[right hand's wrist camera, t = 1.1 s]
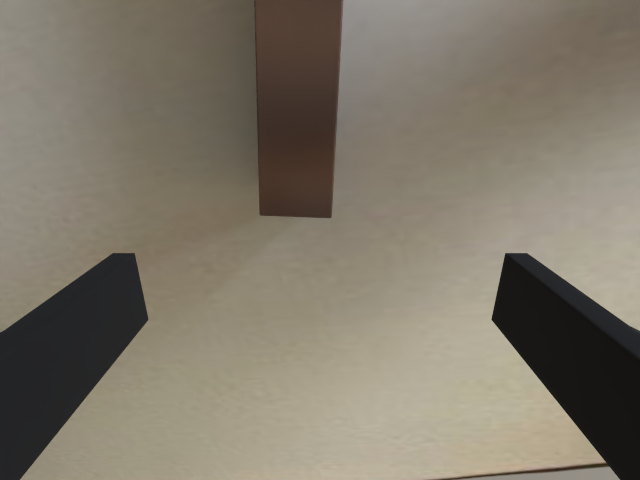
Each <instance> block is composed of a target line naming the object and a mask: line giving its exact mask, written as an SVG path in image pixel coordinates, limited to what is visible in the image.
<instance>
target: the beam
mask: <svg viewBox="0 0 640 480" xmlns="http://www.w3.org/2000/svg"><path fill="white" fill-rule="evenodd" d="M342 12H343V0H255V41H256V82H257V123H258V165H259V206H260V215H261V216H288V217H316V218H331V217H332V200H333V182H334V163H335V144H336V125H337V106H338V88H339V69H340V50H341V31H342Z"/></svg>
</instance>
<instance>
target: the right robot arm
mask: <svg viewBox="0 0 640 480" xmlns="http://www.w3.org/2000/svg"><path fill="white" fill-rule="evenodd" d="M147 321H148V315H147V310H146V306H145V301H144V296H143V291H142V286H141V282H140V277H139V272H138V267H137V263H136V258H135V253H113V254H111V255H110V256H108V257H107V258H106V259H104V260H103V261H101V262H100V263H99V264H97V265H96V266H94V267H93V268H92V269H90V270H89V271H87V272H86V273H85V274H83V275H82V276H80V277H79V278H78V279H76V280H75V281H73V282H72V283H70V284H69V285H68V286H66V287H65V288H63V289H62V290H61V291H59V292H58V293H56V294H55V295H54V296H52V297H51V298H49V299H48V300H47V301H45V302H44V303H42V304H41V305H40V306H38V307H37V308H35V309H34V310H33V311H31V312H30V313H28V314H27V315H25V316H24V317H23V318H21V319H20V320H18V321H17V322H16V323H14V324H13V325H11V326H10V327H9V328H7V329H6V330H4V331H2V332H0V480H20V479H21V478H22V476H23V475H24V474H25V473H26V471H27V470H28V469H29V468H30V466H31V465H32V464H33V463H34V461H35V460H36V459H37V458H38V456H39V455H40V454H41V453H42V451H43V450H44V449H45V448H46V446H47V445H48V444H49V443H50V441H51V440H52V439H53V438H54V436H55V435H56V434H57V433H58V431H59V430H60V429H61V428H62V426H63V425H64V424H65V423H66V422H67V420H68V419H69V418H70V417H71V415H72V414H73V413H74V412H75V410H76V409H77V408H78V407H79V405H80V404H81V403H82V402H83V400H84V399H85V398H86V397H87V395H88V394H89V393H90V392H91V390H92V389H93V388H94V387H95V385H96V384H97V383H98V382H99V380H100V379H101V378H102V377H103V375H104V374H105V373H106V372H107V371H108V369H109V368H110V367H111V366H112V364H113V363H114V362H115V361H116V359H117V358H118V357H119V356H120V354H121V353H122V352H123V351H124V349H125V348H126V347H127V346H128V344H129V343H130V342H131V341H132V339H133V338H134V337H135V336H136V334H137V333H138V332H139V331H140V329H141V328H142V327H143V326H144V324H145V323H146V322H147ZM492 321H493V322H494V323H495V324H496V326H497V327H498V328H499V329H500V331H501V332H502V333H503V334H504V336H505V337H506V338H507V339H508V341H509V342H510V343H511V344H512V346H513V347H514V348H515V349H516V351H517V352H518V353H519V354H520V356H521V357H522V358H523V359H524V361H525V362H526V363H527V364H528V366H529V367H530V368H531V369H532V371H533V372H534V373H535V374H536V375H537V377H538V378H539V379H540V380H541V382H542V383H543V384H544V385H545V387H546V388H547V389H548V390H549V392H550V393H551V394H552V395H553V397H554V398H555V399H556V400H557V402H558V403H559V404H560V405H561V407H562V408H563V409H564V410H565V412H566V413H567V414H568V415H569V417H570V418H571V419H572V420H573V422H574V423H575V424H576V425H577V426H578V428H579V429H580V430H581V431H582V433H583V434H584V435H585V436H586V438H587V439H588V440H589V441H590V443H591V444H592V445H593V446H594V448H595V449H596V450H597V451H598V453H599V454H600V455H601V456H602V458H603V459H604V460H605V461H606V463H607V464H608V465H609V466H610V468H611V469H612V470H613V471H614V473H615V474H616V475H617V476H618V478H619V479H620V480H640V331H639V330H637V329H635V328H632V327H630V326H629V325H627V324H626V323H624V322H623V321H622V320H620V319H619V318H617V317H616V316H615V315H613V314H612V313H610V312H609V311H607V310H606V309H605V308H603V307H602V306H600V305H599V304H598V303H596V302H595V301H593V300H592V299H591V298H589V297H588V296H586V295H585V294H584V293H582V292H581V291H579V290H578V289H577V288H575V287H574V286H572V285H571V284H570V283H568V282H567V281H565V280H564V279H562V278H561V277H560V276H558V275H557V274H555V273H554V272H553V271H551V270H550V269H548V268H547V267H546V266H544V265H543V264H541V263H540V262H539V261H537V260H536V259H534V258H533V257H532V256H530V255H529V254H527V253H505V258H504V263H503V267H502V272H501V277H500V282H499V286H498V291H497V296H496V301H495V306H494V310H493V315H492Z"/></svg>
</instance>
